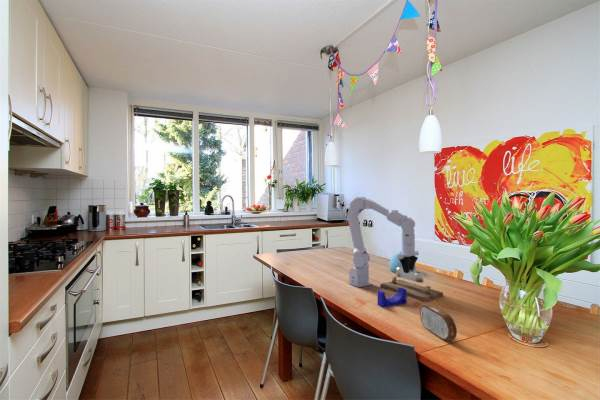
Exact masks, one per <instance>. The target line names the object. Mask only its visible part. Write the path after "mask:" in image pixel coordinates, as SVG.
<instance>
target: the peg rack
mask: <svg viewBox="0 0 600 400" xmlns="http://www.w3.org/2000/svg"><path fill="white" fill-rule="evenodd" d="M379 286H380V288H382V289H385V290H388V291H390V292H394V293H395V294H397V293H398V290H399V288H404V289H406V297H409V298H410V299H411V298H412V299H415V300H417V301H420V302H422V303H423V302H426V301H430V300H433V299H436V298H440V297H443V296H444V292H443V291H439V290H436V289H433V288H431V286H429V285H427V286H422V285H419V284H416V283H412V282H409V281H406V280H401V279H397V276H391V281H388V282H382V283H380V285H379Z"/></svg>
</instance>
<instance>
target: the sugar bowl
mask: <svg viewBox="0 0 600 400" xmlns="http://www.w3.org/2000/svg"><path fill="white" fill-rule="evenodd" d="M401 252H402V251H399V253H394V254H393V256H392V257H391V258H390V260H389V264H388V269H389V270H390V271H391V272H392V273H397V267H402V264H401V262H400V260H399V259H397V255H398V254H400V253H401ZM413 270H414V271H416V270H417V269H416V264H415V265H414V269H413Z"/></svg>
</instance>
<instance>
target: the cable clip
mask: <svg viewBox="0 0 600 400" xmlns="http://www.w3.org/2000/svg"><path fill="white" fill-rule="evenodd" d="M406 304H407V296H406V289H404V288H399V290H398V293H394V294H393V295H392V296H391V297H388V298H387V296H386V292H384V291H383V290H381V289H380V290H377V306H378V307H380V308H386V307H387V308H388V307H392V306H400V305H406Z"/></svg>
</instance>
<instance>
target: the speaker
mask: <svg viewBox="0 0 600 400" xmlns="http://www.w3.org/2000/svg"><path fill="white" fill-rule="evenodd" d="M419 315H420V316H419V317H420V318H419V319H420V322H421V324H422V325H423V327H424V328H425V329H426V330H427V331H429V332H430V333H432V334H433V335H435V336H436V337H437V338H439V339H441V340H443V341H450V340H452V341H453V340H456V337H457V332H458V331H457V326H456V325H457V324H456V323H455V320H454V319H453V317H452V316H451V315H450V314H449V313H448V312H446V310H445V311H444V310H442V308H439V307H437V306H436V305H434V304H432V303H428V304H423V305H421V306H420V308H419Z"/></svg>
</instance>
